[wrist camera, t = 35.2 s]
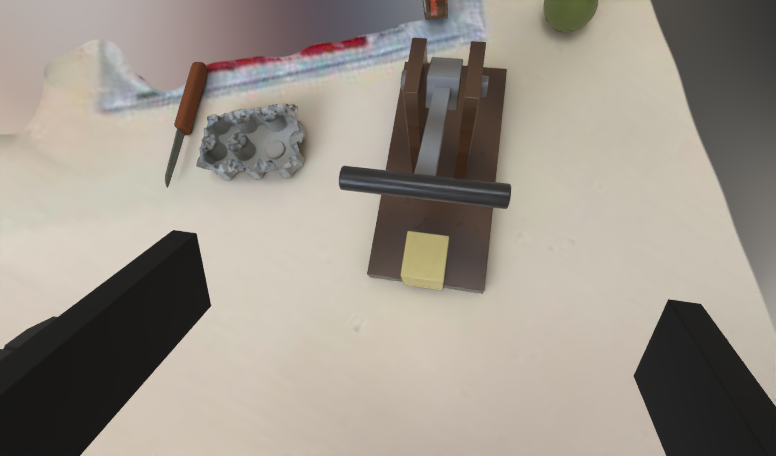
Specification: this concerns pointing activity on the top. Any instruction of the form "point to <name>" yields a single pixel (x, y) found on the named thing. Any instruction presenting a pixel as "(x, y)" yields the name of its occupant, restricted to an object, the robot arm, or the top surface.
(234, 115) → the egg carton
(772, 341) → the top surface
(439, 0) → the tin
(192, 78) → the kitchen knife
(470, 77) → the lever base
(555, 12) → the pear
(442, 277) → the butter
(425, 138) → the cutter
